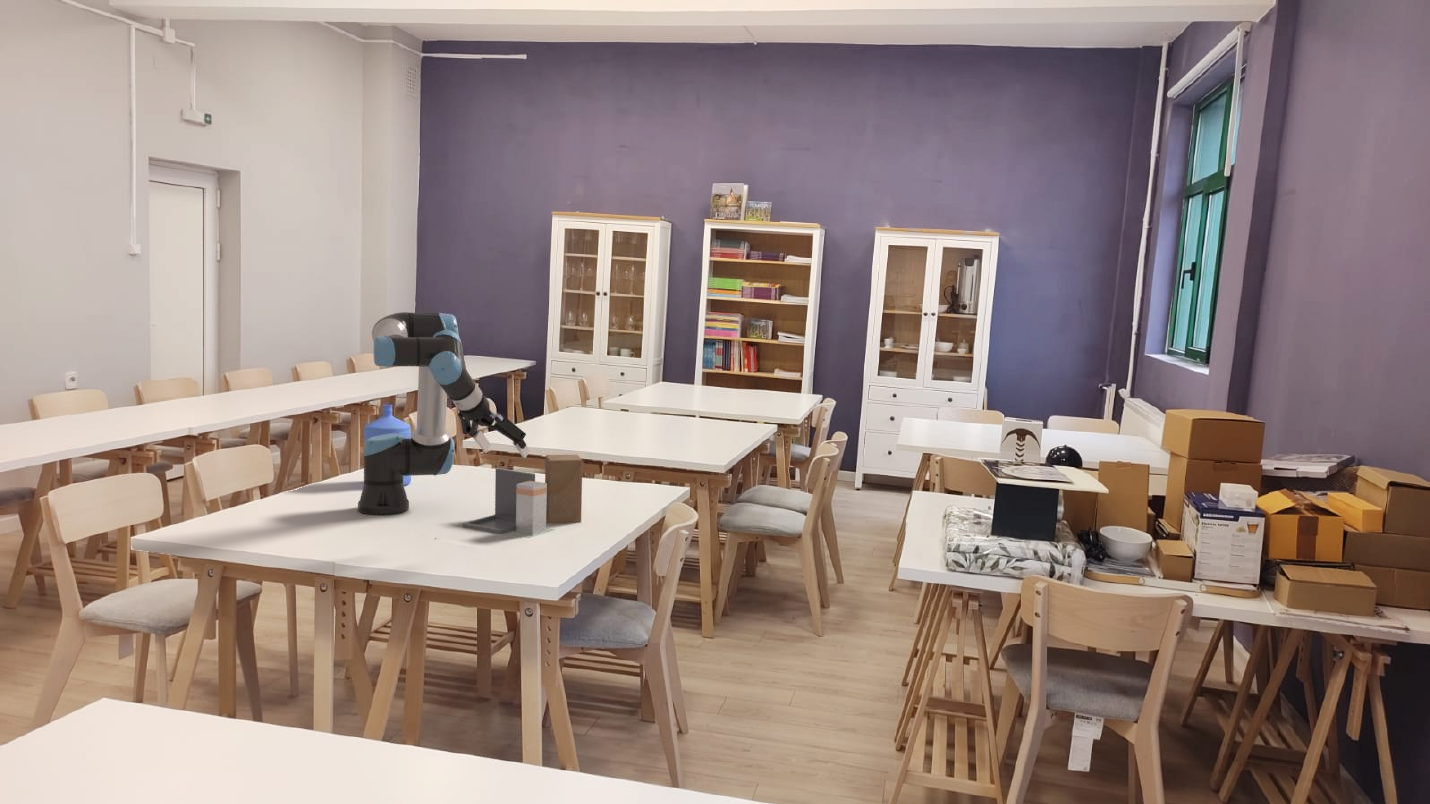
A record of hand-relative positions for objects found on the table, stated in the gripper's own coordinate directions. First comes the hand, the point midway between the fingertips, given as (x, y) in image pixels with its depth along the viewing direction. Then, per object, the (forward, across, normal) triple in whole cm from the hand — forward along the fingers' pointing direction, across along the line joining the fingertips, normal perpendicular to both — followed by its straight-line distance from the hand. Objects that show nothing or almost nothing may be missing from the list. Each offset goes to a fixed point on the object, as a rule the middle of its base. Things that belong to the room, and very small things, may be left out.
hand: (507, 451), depth 272 cm
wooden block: (+38, -2, +2) cm, 39 cm away
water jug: (+45, -85, +9) cm, 97 cm away
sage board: (+26, 0, -10) cm, 28 cm away
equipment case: (+26, -12, -10) cm, 30 cm away
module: (+25, 0, -10) cm, 27 cm away
